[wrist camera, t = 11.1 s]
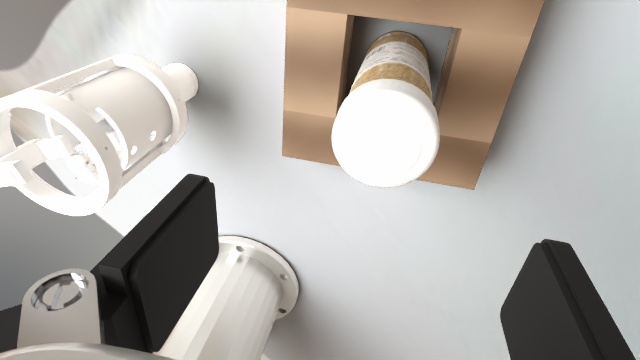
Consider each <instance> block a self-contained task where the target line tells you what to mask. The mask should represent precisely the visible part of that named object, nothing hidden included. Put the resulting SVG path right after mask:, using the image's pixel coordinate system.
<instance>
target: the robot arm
mask: <svg viewBox="0 0 640 360" xmlns="http://www.w3.org/2000/svg"><path fill="white" fill-rule="evenodd" d="M298 293H299V286H298V280H297V278H296V276H295V273H294V271H293V270H292V268H291V267H290V266H289V264H288V263H287V262H286V261H285V260H284V259H283V258H282V257H281V256H280V255H279V254H277V253H276V252H275V251H273V250H272V249H270V248H269V247H267V246H265V245H263V244H261V243H259V242H256V241H254V240H251V239H247V238H243V237H237V236H219V237H218V226H217V212H216V199H215V187H214V184H213V183H211V182H210V181H209V178H208V177H205V176H199V175H194V174H188V175H186V176H185V177H184V178H183V179H182V180H181V181H180V182H179V183H178V184H177V185H176V186H175V187H174V188H173V189H172V190H171V191H170V192H169V193H168V194H167V195H166V196H165V197H164V198H163V199H162V200H161V201H160V202H159V203H158V204H157V205H156V206H155V207H154V208H153V209H152V210H151V211H150V212H149V213H148V214H147V215H146V216H145V217H144V218H143V219H142V220H141V221H140V222H139V223H138V224H137V225H136V226H135V227H134V228H133V229H132V230H131V231H130V232H129V233H128V234H127V235H126V236H125V237H124V238H123V239H122V240H121V241H120V242H119V243H118V244H117V245H116V246H115V247H114V248H113V249H112V250H111V251H110V252H109V253H108V254H107V255H106V256H105V257H104V258H103V259H102V260H101V261H100V262H99V263H98V264H97V265H96V266H95V267H94V268H93V269H92V270H91V271H90V272H89V271H86V270H83V269H66V270H61V271H58V272H55V273H52V274H49V275H48V276H46V277H44V278H42V279H40V280H39V281H38V282H36V283H35V284H34V285H32V286H31V287H30V289H29V290H28V291H27V293H26V294H25V296H24V299H23V302H22V304H20V305H17V306H14V307H12V308H8V309H5V310H2V311H0V360H260V359H261V356H262V353H263V350H264V348H265V345H266V342H267V340H268V337H269V334H270V331H271V329H272V326H273V323H274V321H275V320H278V319H281V318H282V317H284V316H286V315H287V314H288V313H289V312H290V311H292V309H293V307H294V306H295V304H296V301H297V298H298ZM500 318H501V323H502V327H503V331H504V335H505V338H506V342H507V346H508V350H509V354H510V358H511V360H636V359H635V357H634V356H633V354H632V352H631V350H630V349H629V347H628V345H627V343H626V341H625V340H624V338H623V336H622V334H621V333H620V331H619V329H618V327H617V326H616V324H615V322H614V320H613V319H612V317H611V315H610V313H609V311H608V310H607V308H606V306H605V304H604V303H603V301H602V299H601V297H600V296H599V294H598V292H597V290H596V289H595V287H594V285H593V283H592V281H591V280H590V278H589V276H588V274H587V273H586V271H585V269H584V267H583V266H582V264H581V262H580V260H579V259H578V257H577V255H576V253H575V251H574V250H573V248H572V246H571V245H570V244H569V243H565V242H560V241H554V240H549V239H544V240H543V241H542V242H541V243H535V244H534V246H533V247H532V249H531V251H530V253H529V255H528V257H527V259H526V261H525V263H524V265H523V267H522V269H521V271H520V272H519V274H518V276H517V278H516V280H515V282H514V284H513V286H512V288H511V290H510V292H509V294H508V296H507V298H506V300H505V302H504V304H503V306H502V308H501V313H500Z"/></svg>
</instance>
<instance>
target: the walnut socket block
mask: <svg viewBox="0 0 640 360" xmlns="http://www.w3.org/2000/svg"><path fill="white" fill-rule="evenodd" d="M544 1H545V0H287V9H286V43H285V77H284V112H283V146H282V156H286V157H291V158H297V159H303V160H308V161H314V162H320V163H325V164H331V165H336V166H341V165H340V164H339V162H338V160H337V159H336V156H335V154H334V151H333V147H332V129H333V125H334V122H335V119H336V116H337V114H338V111H339V109H340V107H341V105H342V103H343V102H344V100H345V99H346V98H345V90H346V82H347V73H348V65H349V57H350V49H351V41H352V33H353V24H354V16H355V15H356V16H364V17H372V18H380V19H388V20H396V21H404V22H413V23H421V24H429V25H437V26H445V27H453V29H452V33H451V37H450V41H449V45H448V49H447V52H446V56H445V60H444V64H443V68H442V72H441V75H440V79H439V83H438V87H437V91H436V95H435V98H434V102H433V105H434V107H435V109H436V112H437V116H438V123H439V132H440V142H439V149H438V152H437V155H436V157H435V159H434V161H433V163H432V164H431V166H430V167H429V168H428V170H427V171H426V172H425V173H423V174H422V175H421V176H420V177H418V178H417V179H415V180H421V181H427V182H432V183H438V184H444V185H449V186H455V187H461V188H466V189H472V190H474V189H475V186H476V183H477V181H478V178H479V175H480V173H481V170H482V167H483V164H484V162H485V159H486V156H487V154H488V151H489V148H490V146H491V143H492V140H493V138H494V135H495V132H496V130H497V127H498V124H499V122H500V119H501V116H502V114H503V111H504V108H505V106H506V103H507V100H508V98H509V95H510V92H511V89H512V87H513V84H514V81H515V79H516V76H517V73H518V71H519V68H520V65H521V63H522V60H523V57H524V55H525V52H526V49H527V47H528V44H529V41H530V39H531V36H532V33H533V31H534V28H535V25H536V23H537V20H538V17H539V15H540V12H541V9H542V6H543V4H544Z"/></svg>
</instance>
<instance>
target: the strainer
mask: <svg viewBox="0 0 640 360" xmlns="http://www.w3.org/2000/svg"><path fill="white" fill-rule="evenodd" d="M106 72H107V73H106ZM83 79H85V80H84V82H83V83H81V84H78V85H76V86H74V87H71V88H69V89H66V90H64V91H62V92H59V93H57V94H53V93H52V92H55V91H57V90H59V89H62V88H64V87H67V86H69V85H71V84H74V83H76V82H79V81H81V80H83ZM197 91H198V80H197V77H196V75H195V74H194V72H193V71H192V70H191V69H190V68H189V67H188V66H186V65H184V64H182V63H177V62H176V63H171V64H169V65H167V66H165V67H164V68H162V69H161V68H160V67H159V66H157V65H156V64H154V63H153V62H151V61H149V60H147V59H145V58H143V57H140V56H136V55H132V54H119V55H115V56H112V57H109V58H106V59H104V60H101V61H99V62H96V63H93V64H91V65H88V66H85V67H83V68H80V69H77V70H75V71H72V72H69V73H67V74H64V75H62V76H59V77H56V78H54V79H51V80H48V81H46V82H43V83H40V84H38V85H35V86H32V87H30V88H27V89H25V90H22V91H19V92H17V93H14V94H11V95H9V96H6V97H3V98H1V99H0V187H4V186H15V187H17V188H18V189H19V190H20V191H21V192H22V193H24V194H25V195H26V196H28V197H29V198H30V199H32V200H33V201H35V202H37V203H38V204H40V205H42V206H44V207H46V208H48V209H50V210H53V211H56V212H59V213H62V214H66V215H72V216H83V215H89V214H92V213H94V212H96V211H98V210H99V209H100V208H101V207H103V206H104V205H105V204H106V203H107V202H108V201H110V200H111V199H112V198H113V197H114V196H115V195H116V194H117V192H118V191H119V189H120V188H121V187H123V186H124V185H125V184H126V183H127V182H129V181H130V180H131V179H132V178H133V177H134V176H136V175H137V174H138V173H139V172H140V171H142V170H143V169H144V168H145V167H146V166H148V165H149V164H150V163H151V162H152V161H154V160H155V159H156V158H157V157H158V156H159V155H161V154H163V153H165V152H167V151H168V150H170V149H171V148H172V147H173V146H174V145H176V144H177V143H178V142H179V141H180V140H181V139H182V137H183V136H184V134H185V131H186V128H187V123H188V114H187V108H186V104H185V102H186V101H187V100H189V99H191V98H192V97H193V96H195V95H196V93H197ZM15 107H26V108H31V109H34V110H37V111H40V112H42V113H44V114H45V118H46V124H47V127H48V130H49V133H50V135H51V138H45V139H42V138H40V139H35V140H30V141H28V142H26V143H24V144H22V145H21V146H19V147H17V148H16V147H15V144H14V142H13V139H12V136H11V132H10V117H11V113H10V110H11V109H13V108H15ZM152 131H153V132H154V135H151V132H152ZM171 133H172V134H171ZM170 134H171V136H170V138H169V140H168V141H167V142H166V141H165V138H167V137H168V136H169V135H170ZM81 142H82V144H83V145H84V146H85V147H86V149H87V150H88V152H89V153H90V155H91V157H92V158H93V160H94V162H95V163H94V164H92V162H91V160H90V159H89V157H88V155H87V154H86V152H85V151H83V152H77V153H76V151H75V150H74V148H73V147H75V146H76V145H78V144H80V143H81ZM62 157H65V159H66V161H67V162H68V163H67V165H68V167H69V168H70V170H71V171H74V173H75V175H76V176H77V178H75V179H77V180H79V181H82V182H85V183H89V184H100V186H99V187H97V188H96V189H95V190H94V191H92V192H91V193H90V194H88V195H87V196H86V197H85V198H80V197H75V196H71V195H68V194H66V193H63V192H61V191H59V190H57V189H56V188H54V187H52V186H51V185H49V184H48V183H46V182H45V181H43V180H42V179H41V178H40V177H39V176H38V175H36V173H34V172H33V171H32V168H34V167H35V166H37V165H39V164H41V163H42V162H44V161H46V160H49V159H55V158H62Z"/></svg>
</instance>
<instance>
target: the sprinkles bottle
mask: <svg viewBox="0 0 640 360" xmlns="http://www.w3.org/2000/svg"><path fill="white" fill-rule="evenodd" d="M439 142H440V132H439V123H438V116H437V112H436V109H435V107H434V105H433V100H432V91H431V82H430V75H429V68H428V54H427V51H426V49H425V48H424V45H423V44H422V43H421V41H420V40H419V39H418V38H416V37H415V36H413V35H412V34H410V33H405V32H390V33H387V34H384V35H382V36H381V37H379V38H378V39H377V40H376V41H374V42H373V43H372V44H371V46H370V47H369V49H368V51H367V53H366V55H365V59H364V61H363V63H362V65H361V67H360V69H359V72H358V74H357V76H356V78H355V80H354V83H353V85H352V87H351V90H350V94H349V95H348V96H347V97H346V99H345V100H344V102H343V103H342V105H341V107H340V109H339V111H338V114H337V116H336V119H335V122H334V125H333V129H332V147H333V151H334V154H335V156H336V159H337V160H338V162H339V164H340V165H341V166H342V168H343V169H344V170H345V171H346V172H347V173H348V174H349V175H350V176H352V177H353V178H355V179H356V180H358V181H360V182H362V183H365V184H367V185H371V186H375V187H384V188H385V187H397V186H401V185H404V184H407V183H410V182H411V181H413V180H415V179H417V178H418V177H420V176H421V175H422V174H423V173H425V172H426V171H427V170H428V168H429V167H430V166H431V164H432V163H433V161H434V159H435V157H436V155H437V152H438V149H439Z"/></svg>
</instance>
